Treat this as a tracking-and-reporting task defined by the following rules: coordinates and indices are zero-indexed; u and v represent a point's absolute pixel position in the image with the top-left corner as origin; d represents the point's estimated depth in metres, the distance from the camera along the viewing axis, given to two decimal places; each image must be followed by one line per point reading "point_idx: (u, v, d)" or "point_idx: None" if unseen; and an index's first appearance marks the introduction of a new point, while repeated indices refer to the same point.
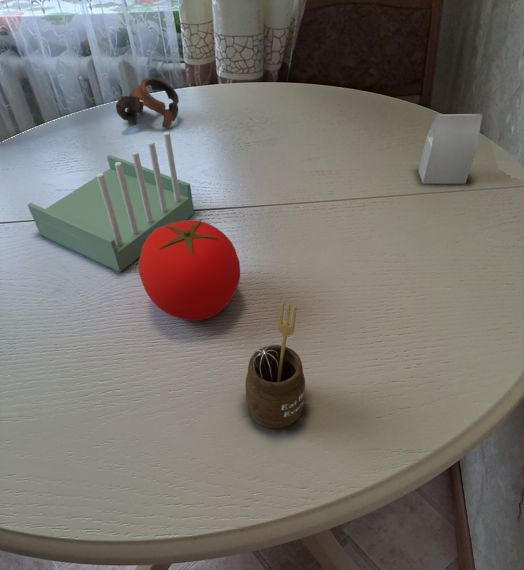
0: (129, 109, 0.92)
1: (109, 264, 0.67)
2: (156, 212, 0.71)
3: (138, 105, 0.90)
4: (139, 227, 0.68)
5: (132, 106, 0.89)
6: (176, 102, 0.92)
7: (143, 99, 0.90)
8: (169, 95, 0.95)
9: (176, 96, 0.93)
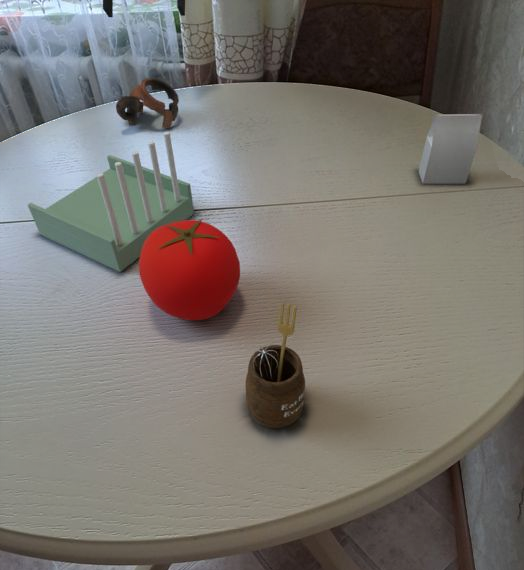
0: (129, 109, 0.92)
1: (109, 264, 0.67)
2: (156, 212, 0.71)
3: (138, 105, 0.90)
4: (139, 227, 0.68)
5: (132, 106, 0.89)
6: (176, 102, 0.92)
7: (143, 99, 0.90)
8: (169, 95, 0.95)
9: (176, 96, 0.93)
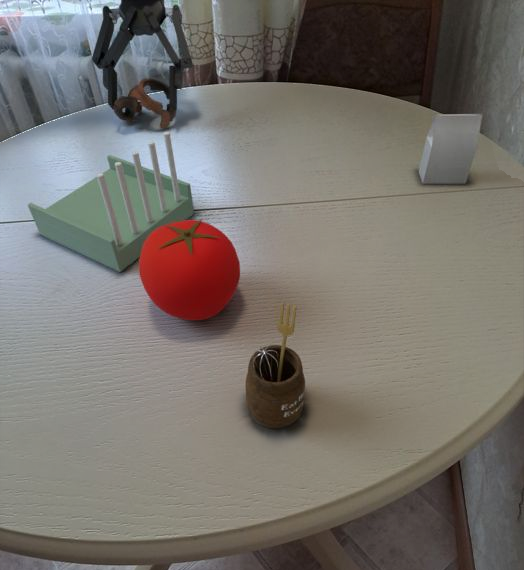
0: (127, 109, 0.92)
1: (109, 264, 0.67)
2: (156, 212, 0.71)
3: (136, 105, 0.90)
4: (139, 227, 0.68)
5: (130, 106, 0.89)
6: None
7: (141, 99, 0.89)
8: (167, 95, 0.95)
9: None
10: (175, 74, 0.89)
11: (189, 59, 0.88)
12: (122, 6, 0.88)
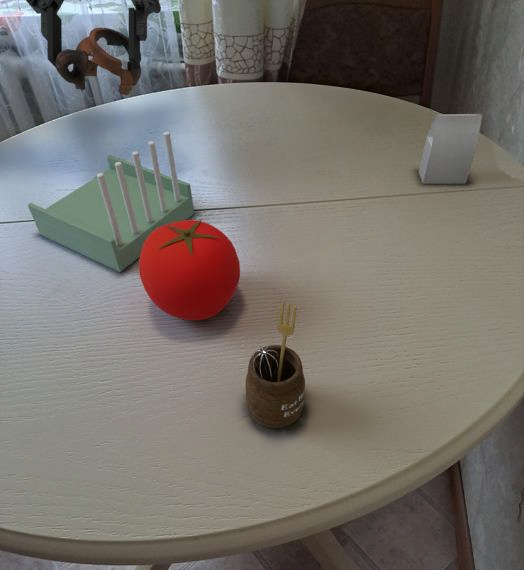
0: (75, 68, 0.69)
1: (109, 264, 0.67)
2: (156, 212, 0.71)
3: (85, 62, 0.67)
4: (139, 227, 0.68)
5: (77, 63, 0.67)
6: None
7: (92, 54, 0.67)
8: None
9: None
10: (137, 20, 0.67)
11: None
12: None
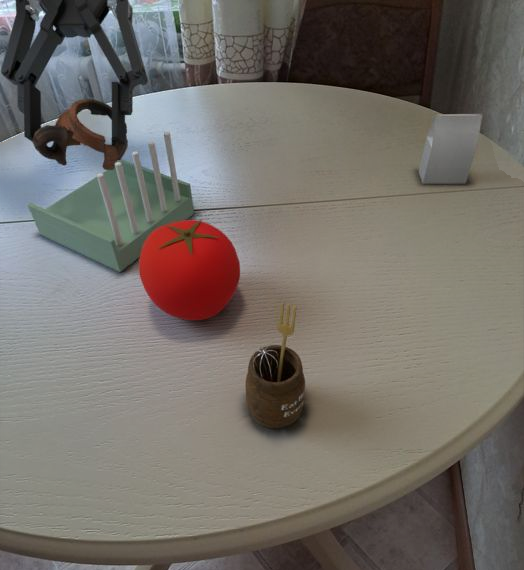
0: (55, 143, 0.64)
1: (109, 264, 0.67)
2: (156, 212, 0.71)
3: (66, 139, 0.62)
4: (139, 227, 0.68)
5: (57, 140, 0.62)
6: None
7: (73, 130, 0.62)
8: None
9: None
10: (121, 94, 0.61)
11: (141, 73, 0.60)
12: None
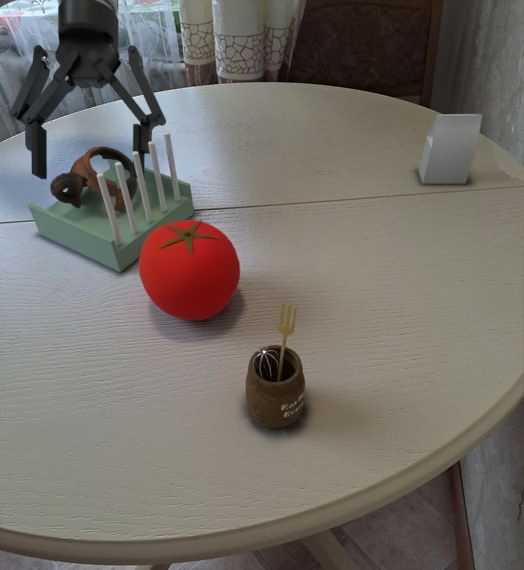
0: (70, 188, 0.69)
1: (109, 264, 0.67)
2: (156, 212, 0.71)
3: (80, 185, 0.67)
4: (139, 227, 0.68)
5: (72, 187, 0.67)
6: (133, 178, 0.69)
7: (87, 177, 0.67)
8: (125, 166, 0.72)
9: None
10: (142, 135, 0.66)
11: (160, 115, 0.65)
12: (60, 50, 0.65)
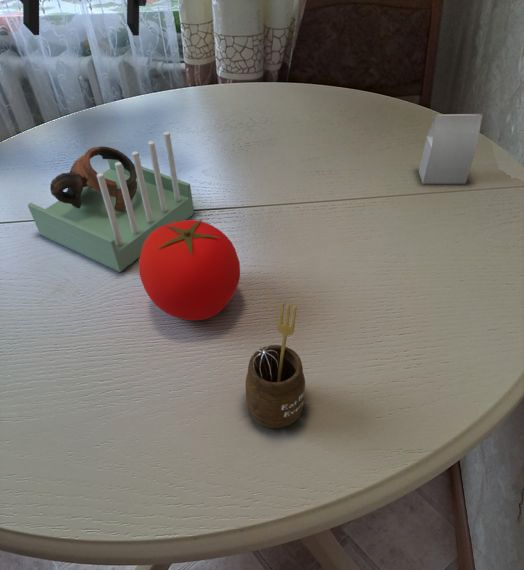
0: (70, 188, 0.69)
1: (109, 264, 0.67)
2: (156, 212, 0.71)
3: (80, 185, 0.67)
4: (139, 227, 0.68)
5: (72, 187, 0.67)
6: (133, 178, 0.69)
7: (87, 177, 0.67)
8: (125, 166, 0.72)
9: (134, 169, 0.70)
10: None
11: None
12: None
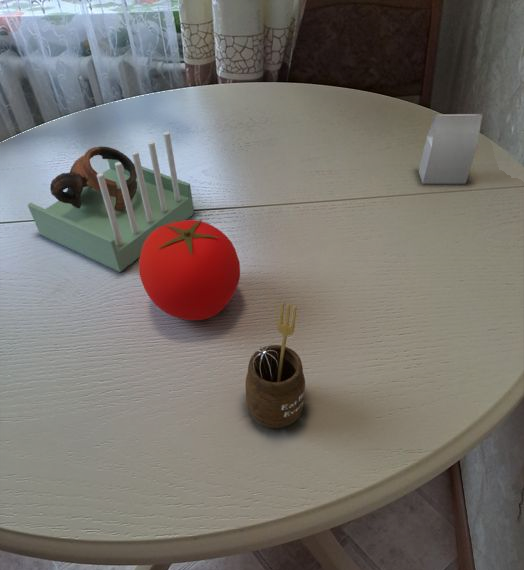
0: (70, 188, 0.69)
1: (109, 264, 0.67)
2: (156, 212, 0.71)
3: (80, 185, 0.67)
4: (139, 227, 0.68)
5: (72, 187, 0.67)
6: (133, 178, 0.69)
7: (87, 177, 0.67)
8: (125, 166, 0.72)
9: (134, 169, 0.70)
10: None
11: None
12: None
